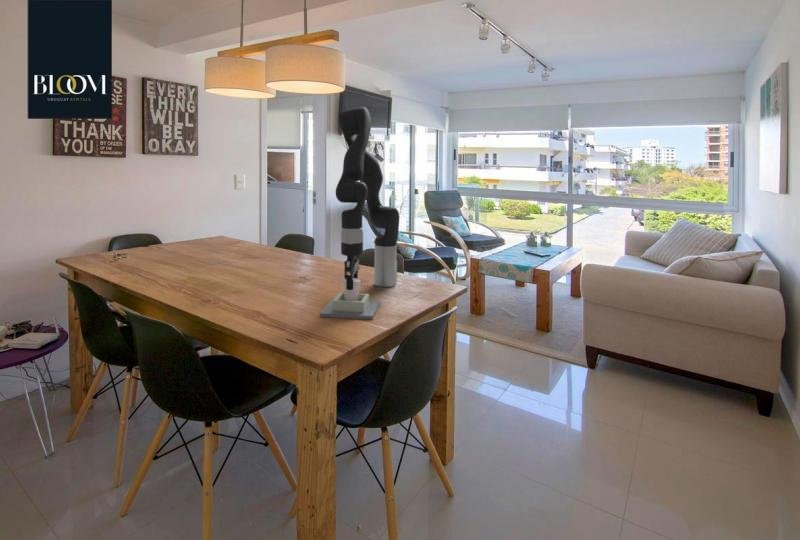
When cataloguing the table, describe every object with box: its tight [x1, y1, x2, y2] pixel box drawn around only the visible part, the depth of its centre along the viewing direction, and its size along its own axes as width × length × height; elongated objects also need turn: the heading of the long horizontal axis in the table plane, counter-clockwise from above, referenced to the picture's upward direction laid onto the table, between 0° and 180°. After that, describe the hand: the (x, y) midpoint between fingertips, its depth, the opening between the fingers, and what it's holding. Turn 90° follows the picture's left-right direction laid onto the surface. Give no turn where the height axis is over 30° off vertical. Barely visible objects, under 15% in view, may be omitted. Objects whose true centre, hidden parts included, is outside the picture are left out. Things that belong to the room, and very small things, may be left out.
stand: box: [319, 292, 381, 320], centre depth 171 cm, size 18×18×5 cm
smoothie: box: [342, 278, 361, 301], centre depth 170 cm, size 6×6×14 cm
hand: (352, 286), depth 169 cm, fingers open, 8 cm apart
